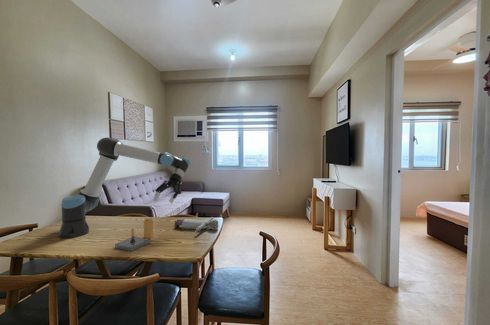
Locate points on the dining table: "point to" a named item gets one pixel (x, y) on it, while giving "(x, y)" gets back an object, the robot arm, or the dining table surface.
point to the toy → (197, 224)
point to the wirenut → (148, 228)
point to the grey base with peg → (132, 242)
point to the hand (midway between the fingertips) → (162, 201)
